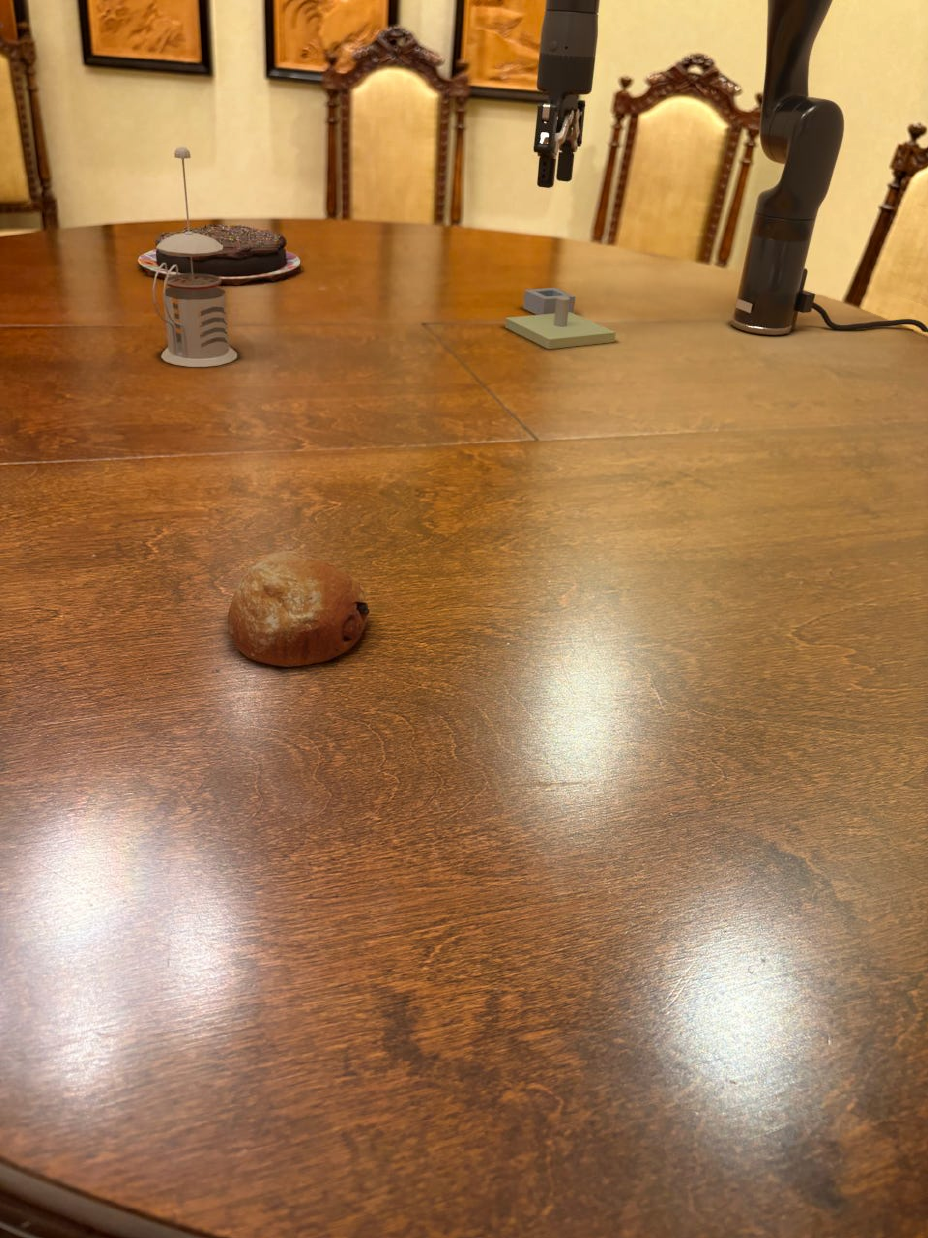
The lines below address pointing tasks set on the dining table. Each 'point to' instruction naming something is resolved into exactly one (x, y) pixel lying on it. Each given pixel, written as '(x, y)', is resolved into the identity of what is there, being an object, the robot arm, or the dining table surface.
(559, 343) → the green peg base
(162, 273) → the chocolate cake
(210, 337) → the french press
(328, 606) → the bread roll
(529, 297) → the gray rectangular block
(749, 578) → the dining table surface
